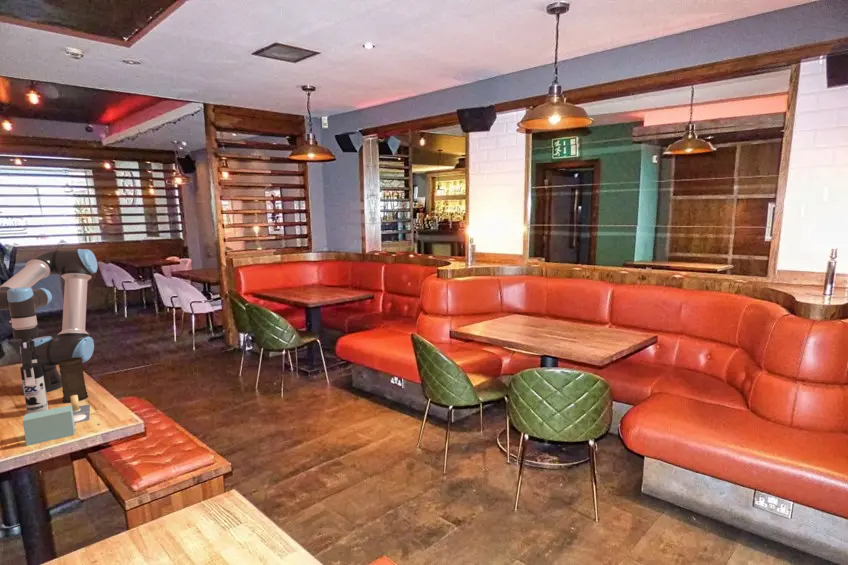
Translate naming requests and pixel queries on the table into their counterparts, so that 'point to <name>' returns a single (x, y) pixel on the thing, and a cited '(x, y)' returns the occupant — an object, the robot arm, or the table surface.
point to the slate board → (79, 410)
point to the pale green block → (48, 425)
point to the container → (72, 379)
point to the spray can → (35, 391)
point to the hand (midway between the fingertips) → (32, 380)
